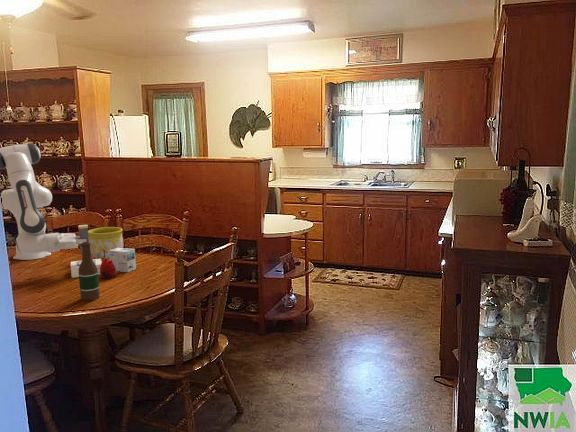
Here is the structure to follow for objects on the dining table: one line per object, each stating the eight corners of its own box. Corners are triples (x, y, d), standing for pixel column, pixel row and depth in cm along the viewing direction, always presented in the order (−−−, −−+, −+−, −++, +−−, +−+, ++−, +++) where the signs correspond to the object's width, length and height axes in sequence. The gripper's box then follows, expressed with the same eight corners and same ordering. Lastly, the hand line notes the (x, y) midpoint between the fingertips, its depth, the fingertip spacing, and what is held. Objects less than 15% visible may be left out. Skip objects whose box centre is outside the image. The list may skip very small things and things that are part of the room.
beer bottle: (83, 295, 202) (79, 240, 198) (102, 294, 202) (98, 240, 198) (77, 301, 194) (72, 245, 190) (96, 301, 195) (92, 244, 191)
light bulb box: (136, 269, 241) (135, 248, 239) (128, 272, 235) (126, 251, 233) (119, 267, 244) (117, 247, 242) (110, 271, 238) (108, 250, 236)
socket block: (71, 271, 238) (70, 261, 237) (101, 267, 243) (100, 257, 242) (71, 277, 227) (70, 267, 226) (102, 274, 233) (102, 263, 232)
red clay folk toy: (119, 275, 229) (117, 245, 227) (110, 280, 223) (108, 249, 220) (106, 274, 231) (103, 245, 229) (96, 279, 225) (94, 248, 222)
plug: (80, 253, 234) (78, 225, 232) (89, 252, 236) (87, 224, 234) (80, 254, 230) (78, 226, 228) (90, 253, 232) (87, 226, 230)
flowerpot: (90, 265, 249) (87, 234, 246) (89, 257, 265) (86, 228, 262) (126, 261, 256) (124, 231, 253) (123, 253, 272) (121, 225, 269)
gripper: (53, 240, 217) (86, 237, 223) (55, 232, 235) (85, 229, 241) (54, 253, 218) (87, 250, 224) (56, 244, 236) (86, 241, 242)
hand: (86, 239), depth 232 cm, fingers closed on plug, 4 cm apart
